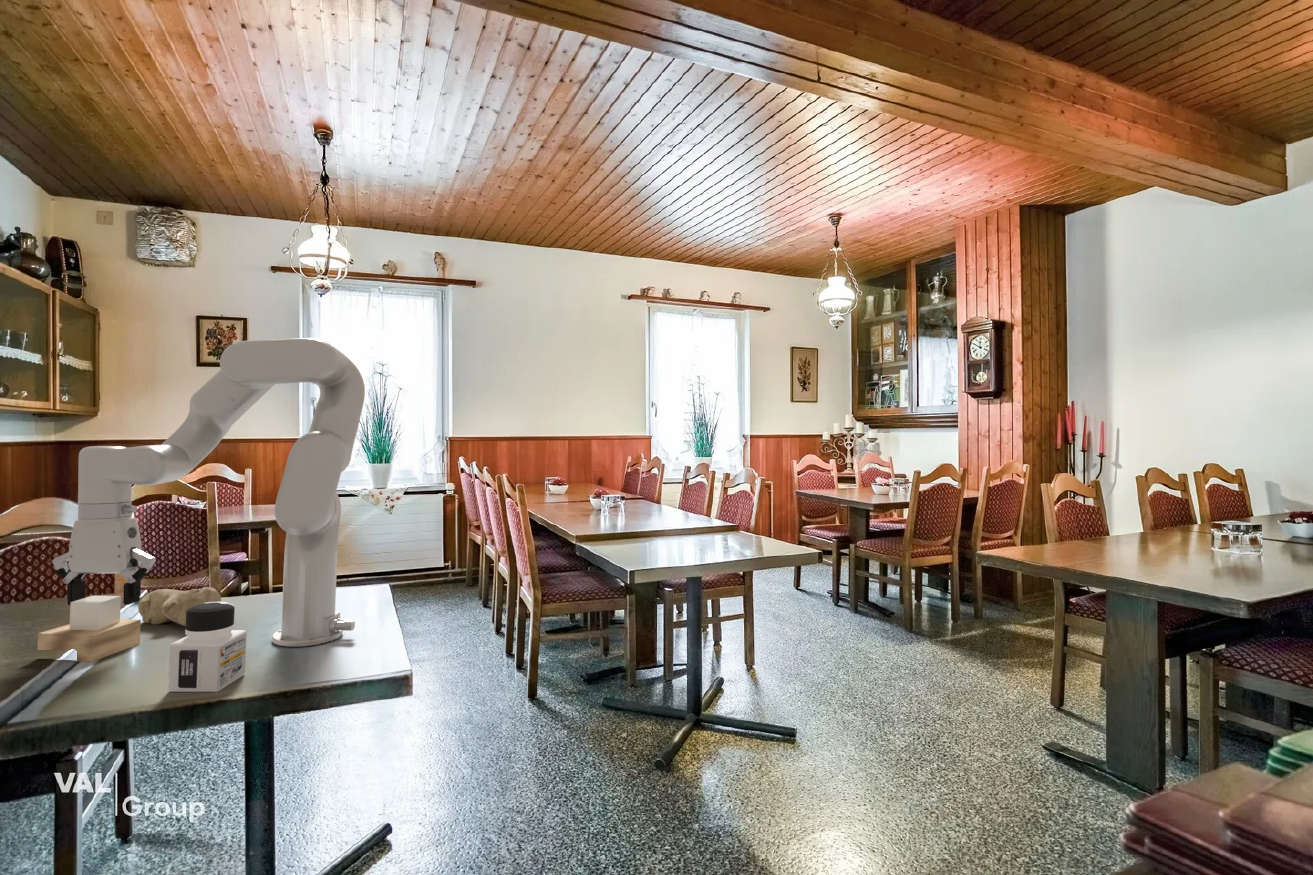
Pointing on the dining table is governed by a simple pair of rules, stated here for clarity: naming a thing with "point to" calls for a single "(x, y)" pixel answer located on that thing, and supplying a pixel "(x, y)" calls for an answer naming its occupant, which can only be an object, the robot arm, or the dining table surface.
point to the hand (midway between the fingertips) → (104, 603)
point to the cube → (95, 612)
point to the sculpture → (173, 604)
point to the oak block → (92, 640)
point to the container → (207, 650)
